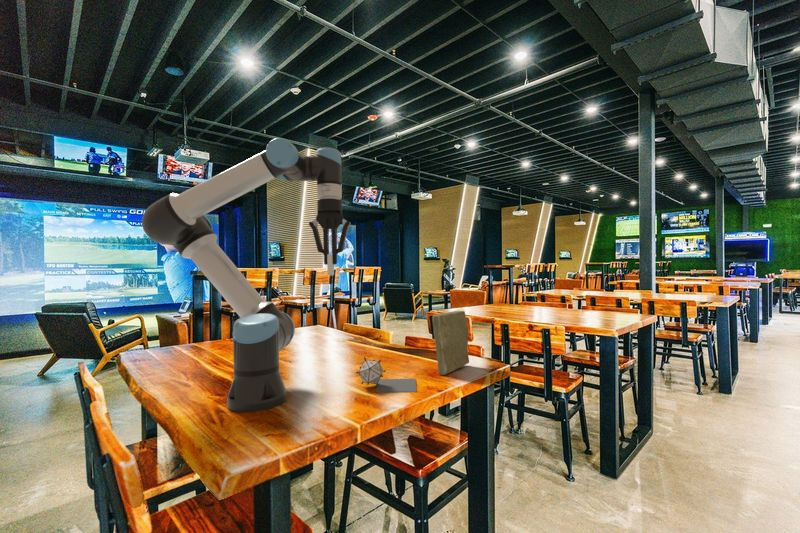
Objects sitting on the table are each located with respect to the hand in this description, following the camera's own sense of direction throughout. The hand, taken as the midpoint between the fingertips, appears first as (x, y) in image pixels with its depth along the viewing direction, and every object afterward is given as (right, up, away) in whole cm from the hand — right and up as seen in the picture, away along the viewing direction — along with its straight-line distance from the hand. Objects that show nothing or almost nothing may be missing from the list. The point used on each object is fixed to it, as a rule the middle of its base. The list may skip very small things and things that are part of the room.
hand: (330, 275), depth 114 cm
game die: (+10, -34, -2) cm, 35 cm away
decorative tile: (+41, -34, +16) cm, 55 cm away
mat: (+21, -34, -2) cm, 40 cm away
